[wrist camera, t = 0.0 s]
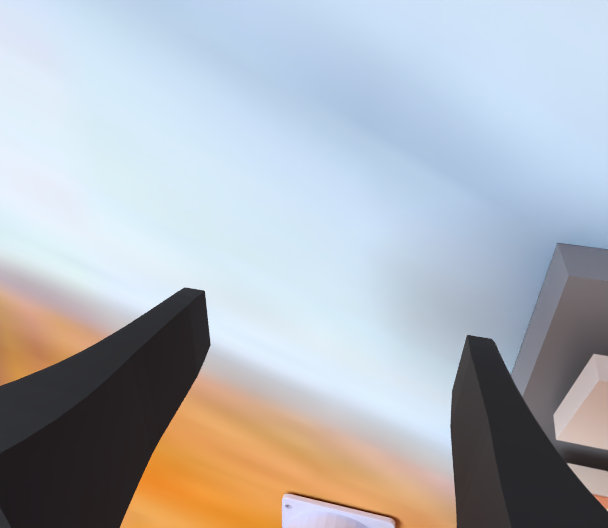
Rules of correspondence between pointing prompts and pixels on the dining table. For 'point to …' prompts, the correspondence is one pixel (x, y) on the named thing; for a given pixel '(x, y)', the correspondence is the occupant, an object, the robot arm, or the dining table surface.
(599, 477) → the block
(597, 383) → the white tile
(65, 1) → the dining table surface
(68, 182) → the dining table surface
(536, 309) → the grey flat board
